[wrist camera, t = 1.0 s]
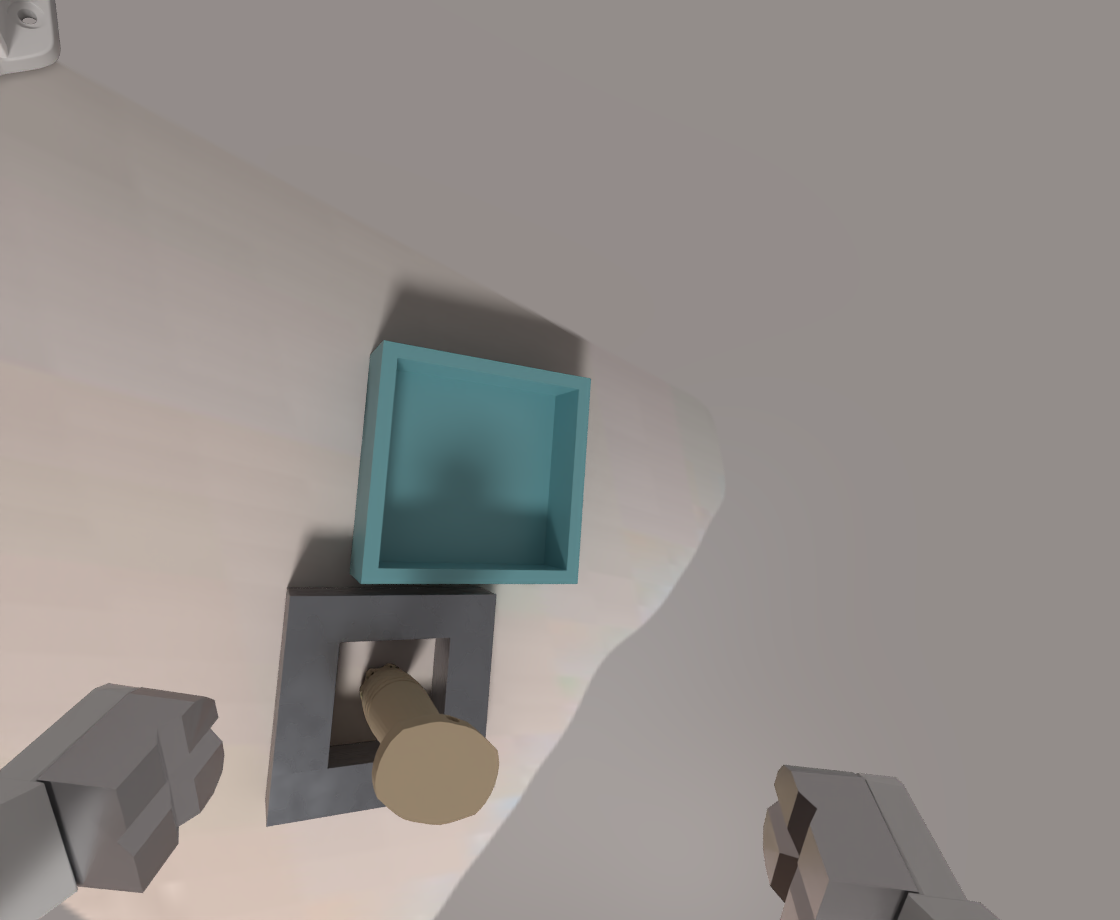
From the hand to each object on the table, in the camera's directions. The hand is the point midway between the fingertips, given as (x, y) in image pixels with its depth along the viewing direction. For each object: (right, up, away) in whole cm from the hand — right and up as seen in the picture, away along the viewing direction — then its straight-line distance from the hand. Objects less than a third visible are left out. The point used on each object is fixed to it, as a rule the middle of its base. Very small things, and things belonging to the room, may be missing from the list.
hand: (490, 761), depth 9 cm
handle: (-12, -12, +35) cm, 39 cm away
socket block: (-12, -12, +35) cm, 39 cm away
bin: (-6, +3, +38) cm, 39 cm away
